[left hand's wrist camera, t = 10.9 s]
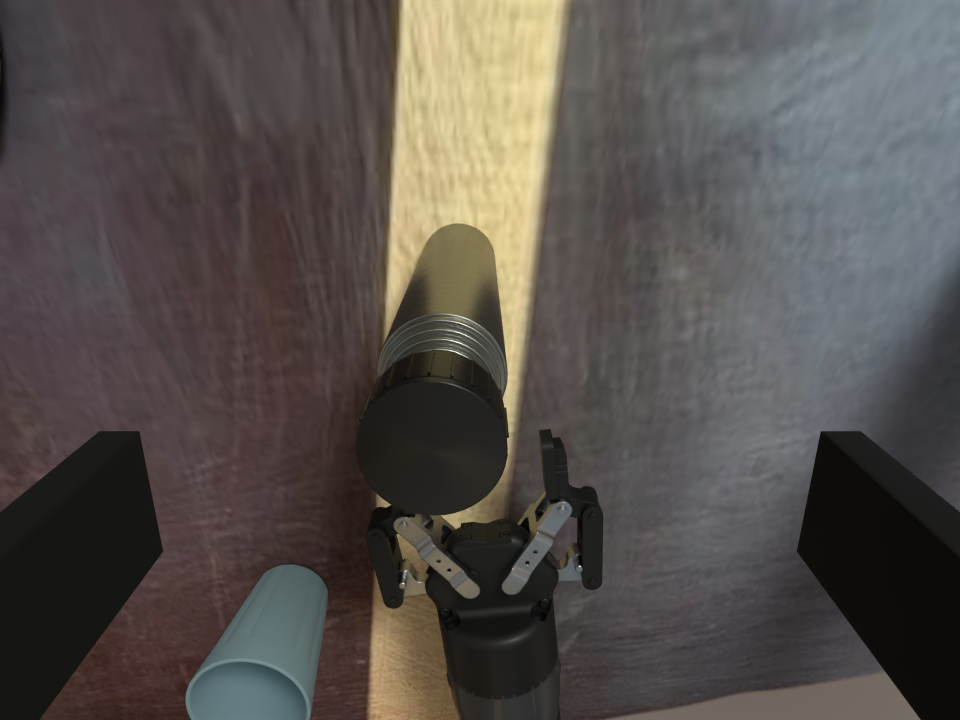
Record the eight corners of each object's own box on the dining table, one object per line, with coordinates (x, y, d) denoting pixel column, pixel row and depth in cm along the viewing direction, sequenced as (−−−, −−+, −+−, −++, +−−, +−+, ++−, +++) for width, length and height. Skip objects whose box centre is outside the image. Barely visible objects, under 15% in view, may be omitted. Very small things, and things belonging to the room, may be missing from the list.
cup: (220, 583, 50) (158, 698, 40) (296, 533, 48) (251, 639, 38) (287, 646, 52) (244, 769, 42) (362, 600, 50) (335, 717, 41)
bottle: (420, 224, 41) (342, 369, 17) (494, 222, 41) (514, 365, 17) (424, 296, 42) (357, 516, 19) (495, 294, 42) (515, 513, 19)
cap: (361, 349, 19) (346, 380, 17) (505, 345, 19) (508, 376, 17) (373, 474, 21) (360, 519, 18) (506, 471, 21) (510, 515, 18)
